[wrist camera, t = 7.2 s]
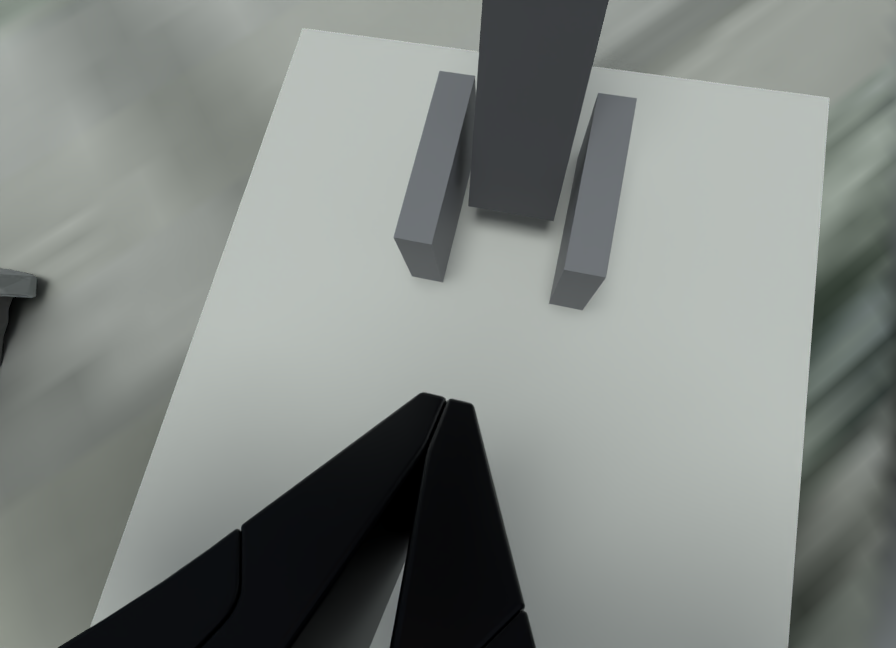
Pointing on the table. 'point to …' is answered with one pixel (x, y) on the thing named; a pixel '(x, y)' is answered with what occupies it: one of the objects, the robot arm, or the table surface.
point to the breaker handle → (530, 100)
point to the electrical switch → (13, 294)
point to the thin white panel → (520, 338)
